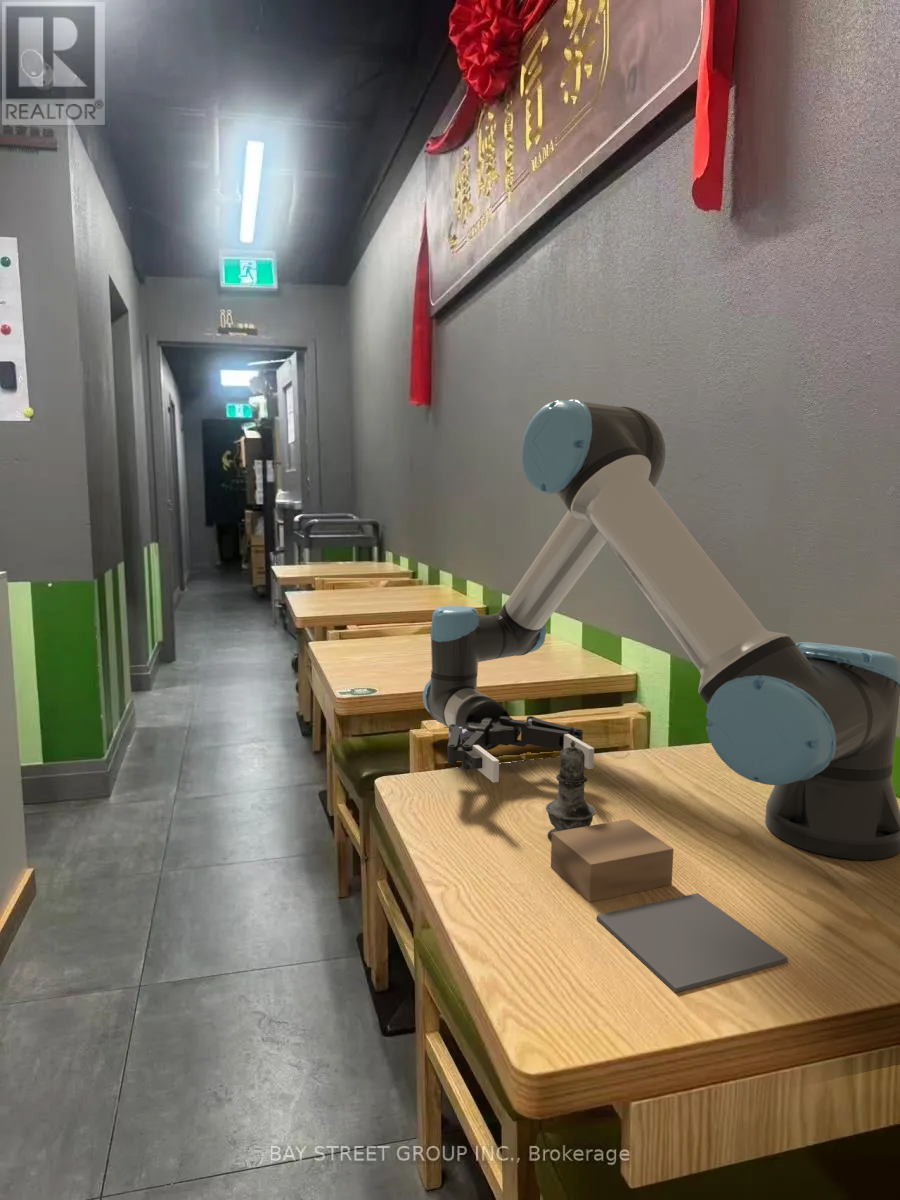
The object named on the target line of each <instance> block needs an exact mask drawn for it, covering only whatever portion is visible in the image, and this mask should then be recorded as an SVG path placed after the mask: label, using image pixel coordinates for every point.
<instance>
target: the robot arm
mask: <svg viewBox="0 0 900 1200" xmlns="http://www.w3.org/2000/svg"><path fill="white" fill-rule="evenodd" d="M522 438H523V439H522V450H521V452H520V453H521V457H520V458H521V465H522V469H523V470H522V471H523V473H524V475H525V478H526V479H527V481H528V483H529V484H530V485H531V486H532V487H533V488H534V489H536V490H538V491H540V492H542V493H544V494H546V495H547V494H548V495H553V494H556V495H558V497H559V498H560V500H561V501H562V503H563V504H564V505H565V506H566V508H567V509H568V510H567V511H566V513H565V515H563V517H562V519H561V520H560V521H559V523H558V525H557V526H556V527H555V529H554V530H553V532H552V534H551V535H550V537H549V538H548V540H547V541H546V542H545V544H544V545H543V547H542V548H541V550H540V552H539V553H538V554H537V556H536V557H535V559H534V560H533V562H532V563H531V565H530V566H529V567H528V569H527V570H526V572H525V574H524V575H523V576H522V578H521V580H520V581H519V582H518V584H517V585H516V587H515V588H514V590H513V591H512V593H511V594H510V596H509V597H508V598H507V600H506V602H505V603H504V604H503V605H502V607H501V608H500V609H499V611H498V612H497V613H493V614H487V615H479V612H478V610H477V609H476V608H474V607H472V606H464V605H447V606H446V605H445V606H440V607H438V608H436V609H435V610H434V611H433V612H432V617H431V618H432V619H431V626H430V640H431V641H430V646H431V647H430V648H431V649H430V650H431V671H430V673H431V674H430V679H429V680H428V681H427V682H426V685H425V687H424V689H423V691H422V702H423V706H424V708H425V709H426V711H427V712H428V713H429V714H430V715H431V717H432V718H433V720H435V721H436V722H438V723H440V724H443V725H444V726H446V727H447V728H448V743H447V760H446V761H447V764H448V765H451V766H452V765H456V764H458V763H457V762H461V769H462V770H465V771H469V770H471V769H474V770H478V771H479V773H481V774H482V775H484V776H485V778H487V779H488V780H490V781H491V782H492V783H499V782H500V780H499V779H500V760H499V759H497V758H496V757H495V756H493V755H492V754H491V753H489V752H488V750H492V749H495V748H496V747H498V746H499V745H500V746H509V745H510V746H515V747H523V748H524V747H526V746H527V745H529V746H530V745H531V746H536V747H541V748H542V747H543V748H548V749H552V750H553V749H554V750H559V751H562V750H563V749H565V748H568V747H570V746H571V745H570V743H571V742H572V740H573V741H574V742H575V747H576V748H578V749H580V750H582V751H583V753H584V755H585V763H584V768H586V769H588V770H591V769H592V770H593V769H595V768H594V767H595V766H594V764H595V762H594V761H595V759H594V758H595V748H594V747H593V746H591V745H589V744H587V743H586V742H584V741H583V739H584V738H583V736H584V735H583V733H584V730H583V729H580V728H576V727H573V726H567V725H563V724H560V723H555V722H551V721H546V720H543V719H540V718H537V717H536V716H532V715H530V716H526V721H525V720H520V719H514V718H512V717H511V716H510V714H509V712H508V711H507V709H506V707H504V706H503V704H501V703H499V702H498V701H496V700H495V699H492V698H491V697H490V696H489V695H487V694H485V693H483V692H481V691H479V690H478V688H477V687H478V669H479V667H478V666H479V663H481V662H487V661H492V660H498V659H503V658H509V657H510V658H511V657H517V656H524V655H527V654H529V653H533V652H536V651H538V650H539V649H540V648H542V646H543V645H544V643H545V641H546V635H547V626H546V623H547V622H548V620H549V619H550V618H551V616H552V615H554V613H555V611H556V610H557V609H558V608H559V606H560V604H561V603H562V601H563V600H564V599H565V598H566V596H567V595H568V593H570V591H571V590H572V589H573V587H574V586H575V584H576V583H577V582H578V581H579V580H580V578H581V577H582V575H583V574H584V572H585V571H586V570H587V568H588V567H589V566H590V564H591V563H593V562H592V561H593V560H594V559H595V558H596V556H597V555H598V554H599V552H600V551H601V549H603V547H604V546H605V544H608V546H609V547H610V548H611V550H612V551H613V553H614V554H615V556H616V558H618V559H619V562H620V563H621V564H622V565H623V567H624V568H625V569H626V571H627V573H628V574H629V575H630V577H632V579H633V580H634V582H635V583H636V584H637V586H638V588H639V589H640V590H641V592H642V593H643V594H644V596H645V598H647V600H648V601H649V603H650V604H651V605H652V606H653V609H654V610H655V611H656V613H657V614H658V615H659V617H660V618H661V619H662V621H663V622H664V623H665V624H664V625H666V627H667V628H668V630H670V632H671V633H672V634H673V636H674V638H675V639H676V640H677V642H678V643H679V644H680V646H681V647H682V649H683V650H684V651H685V652H686V654H687V656H688V657H689V659H690V660H691V661H692V663H693V664H694V666H695V667H696V668H697V669H698V671H699V673H700V679H699V685H698V690H697V692H698V694H699V696H700V697H701V699H702V700H703V702H704V703H705V705H706V706H707V707H706V713H705V714H706V715H705V719H707V725H706V727H705V728H706V732H707V736H708V739H709V742H710V744H711V747H712V748H713V750H714V751H715V753H716V754H717V755H718V757H719V758H720V760H721V761H722V762H723V763H724V764H725V765H726V766H727V767H728V768H729V769H731V770H732V771H733V772H735V774H738V775H739V776H741V777H743V778H745V779H747V780H749V781H751V782H756V783H760V784H762V785H767V786H773V788H772V790H771V793H770V795H769V797H768V799H767V801H766V806H765V815H764V816H765V817H764V818H765V819H764V823H765V826H766V827H767V829H768V830H769V831H770V832H771V833H772V834H774V835H775V836H776V837H777V838H779V839H781V840H782V841H784V842H786V843H788V844H790V845H793V846H794V847H797V848H800V849H803V850H806V851H808V852H812V853H815V854H819V855H824V856H828V857H833V858H838V859H840V858H841V859H847V860H859V861H860V860H863V861H867V860H869V861H871V860H872V861H873V860H881V859H887V858H890V857H893V856H895V855H898V854H899V853H900V807H899V802H898V799H897V795H896V791H895V789H894V788H895V787H894V784H893V768H894V767H893V765H894V755H895V748H896V747H895V745H896V735H897V725H898V716H899V715H898V713H899V705H900V704H899V703H900V660H899V659H898V657H897V656H896V655H894V654H891V653H887V652H884V651H878V650H874V649H868V648H862V647H853V646H846V645H839V644H838V645H837V644H831V643H821V642H813V641H812V642H809V641H800V642H796V643H795V642H794V641H793V639H792V638H791V636H790V635H789V634H787V633H783V632H775V631H769V630H767V629H766V628H765V627H764V626H763V625H762V623H761V622H760V621H759V620H758V618H757V617H756V615H755V614H754V613H753V612H752V610H751V609H750V608H749V607H748V605H747V604H746V602H745V601H744V599H742V597H741V596H740V595H739V593H738V592H737V591H736V590H735V589H734V587H733V586H732V584H731V583H730V582H729V581H728V579H727V577H725V575H724V574H722V572H721V570H720V569H719V568H718V567H717V566H716V564H715V563H714V562H713V561H712V559H711V558H710V556H709V555H708V554H707V552H706V551H705V550H704V549H703V548H702V547H701V545H700V544H699V543H698V542H697V540H696V539H695V537H694V536H693V534H691V532H690V531H689V530H688V528H687V527H686V526H685V525H684V524H683V522H682V521H681V519H680V518H679V517H678V516H677V515H676V513H675V512H674V510H672V508H671V507H670V506H669V504H668V503H667V502H666V500H665V499H664V498H663V497H662V495H661V494H660V493H659V492H658V490H657V488H656V486H657V484H658V482H659V480H660V478H661V477H662V472H663V470H664V466H665V462H666V444H665V439H664V435H663V433H662V430H661V429H660V427H659V426H658V424H657V423H656V421H654V419H653V418H652V417H650V416H649V415H648V414H646V412H643V411H642V410H639V409H636V408H632V407H630V406H615V405H608V404H602V403H595V402H588V401H582V400H579V399H569V400H555V401H552V402H549V403H547V404H545V405H544V406H543V407H541V408H540V409H539V410H538V411H537V412H536V413H535V414H534V416H533V417H532V418H531V420H530V421H529V423H528V425H527V427H526V429H525V432H524V435H523V437H522ZM519 736H520V739H518V738H519ZM463 741H464V742H463Z"/></svg>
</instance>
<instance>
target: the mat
mask: <svg viewBox="0 0 900 1200" xmlns="http://www.w3.org/2000/svg"><path fill="white" fill-rule="evenodd" d="M596 921H598V922H599V923H600V924H601V925H602V926H603V927H604V928H605V929H606V930H607V931H608V932H609V933H610V934H612V935H613V936H614V938H616V939H617V940H618V942H619V941H620V943H621V944H623V945H624V947H626V949H628V950H629V951H630V952H631V953H632V954H633V955H634V956H635V957H636V958H637V959H638V960H640V961H641V962H642V963H643V964H644V965H645V967H647V968H648V969H649V970H651V971H652V973H653V974H654V975H656V977H658V978H659V979H660V980H661V981H662V982H663V983H664V984H665V985H666V986H667V987H669V989H670V990H672V991H673V992H674V993H680V992H684V991H687V990H691V989H694V988H698V987H702V986H705V985H708V984H712V983H716V982H720V981H724V980H727V979H730V978H735V977H738V976H741V975H745V974H749V973H752V972H753V973H754V972H757V971H759V970H760V971H761V970H764V969H767V968H771V967H774V966H778V965H782V964H785V963H788V961H789V958H788V957H787V956H786V955H784V954H783V953H782V952H780V951H779V950H778V949H776V948H775V947H774V946H772V945H771V944H769V943H768V942H766V941H765V940H764V939H762V937H759V935H757V934H755V933H754V932H753V931H751V930H750V929H748V928H747V927H745V926H744V925H743V924H742V923H740V922H739V921H738V920H736V919H734V918H733V917H732V916H731V915H729V914H728V913H726V912H725V911H723V910H722V909H721V908H719V907H718V906H717V905H715V904H713V902H711V901H709V900H708V899H707V898H705V897H704V896H702V894H700V893H699V892H696V893H692V894H686V895H683V896H679V897H674V898H670V899H665V900H662V901H661V900H660V901H657V902H652V903H647V904H641V905H638V906H633V907H629V908H624V909H620V910H615V911H611V912H606V913H601V914H597V915H596Z"/></svg>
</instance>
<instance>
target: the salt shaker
mask: <svg viewBox="0 0 900 1200" xmlns="http://www.w3.org/2000/svg"><path fill="white" fill-rule="evenodd" d="M570 745H571V746H570V747H568V748H565V749H563V750H560V754H559V773H558V774H557V775H556V780H557V782H558V786H557V787H558V788H557V789H558V791H557V792H558V793H557V797H556V799H555V800H552V801H550V802H549V803H547V804H546V806H545V811H546V812H547V815H548V819H549V821H550V824H551V825H552V826H553V827H554V828H552V829H550V831H548V832H547V835H546V836H547V839H548V840H549V841H550V842H551V841H552V832H557V831H562V830H568V829H574V828H580V827H586V826H591V824H592V822H593V819H594V816H595V815H596V812H597V811H596V808H595V807H594V806H593V805H592V804H590V803H588V802H586V798H585V784H586V783H587V781H588V778H587V776H585V767H584V763H585V755H584V753H583V751H582V750H580V749H578V748H576V747H575V742H574V741H573V740H572V742H571V743H570Z"/></svg>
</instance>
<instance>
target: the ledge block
mask: <svg viewBox="0 0 900 1200" xmlns="http://www.w3.org/2000/svg"><path fill="white" fill-rule="evenodd" d="M550 842H551V847H550V849H551V851H550V868H551V869H553V870H554V871H555V873H557V874H558V875H559V876H560V877H561V878H562V879H564V880H565V881H566V882H567V883H568V884H569V885H570V886H571V887H572V888H574V890H576V892H577V893H579V895H581V897H583V898H584V899H585V900H586V901H587V902H589V903H593V902H596V901H601V900H602V901H603V900H606V899H607V900H608V899H611V898H617V897H620V896H626V895H629V894H630V895H631V894H635V893H639V892H644V891H649V890H654V889H657V888H663V887H668V886H671V885H672V884H673V882H672V881H673V868H674V867H673V865H674V848H673V847H672V846H670V845H669V844H668V843H665V842H664V841H662V839H660V838H659V837H657V836H655V835H654V834H652V833H651V832H649V831H648V830H647V829H645V828H644V827H642V826H640V825H639V824H637V823H636V822H634V821H633V820H631V819H630V818H628V819H622V820H616V821H609V822H604V823H597V824H592V825H590V826H586V827H580V828H574V829H568V830H562V831H557V832H552V841H550Z"/></svg>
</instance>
